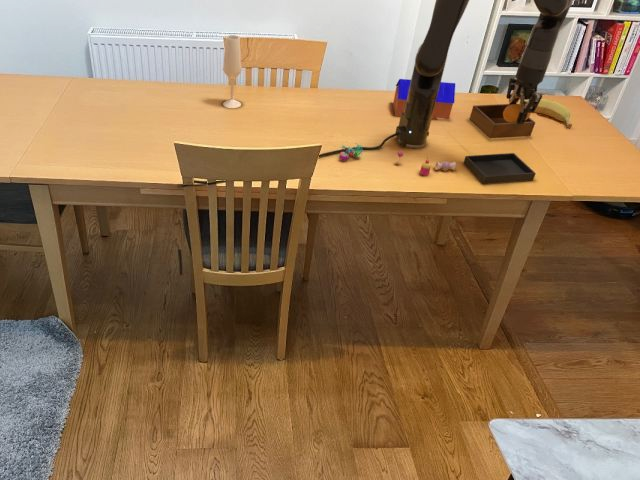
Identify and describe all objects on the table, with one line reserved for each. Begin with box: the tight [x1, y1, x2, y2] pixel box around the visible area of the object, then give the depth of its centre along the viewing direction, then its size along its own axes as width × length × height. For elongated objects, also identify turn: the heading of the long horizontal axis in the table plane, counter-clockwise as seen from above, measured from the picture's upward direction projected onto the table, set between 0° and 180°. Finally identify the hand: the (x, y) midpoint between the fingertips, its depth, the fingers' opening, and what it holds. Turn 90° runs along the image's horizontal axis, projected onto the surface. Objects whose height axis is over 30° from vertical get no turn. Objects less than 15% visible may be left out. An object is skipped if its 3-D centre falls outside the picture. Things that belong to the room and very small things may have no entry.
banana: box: [518, 98, 573, 129], centre depth 217 cm, size 14×6×20 cm
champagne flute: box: [222, 34, 243, 109], centre depth 209 cm, size 7×7×24 cm
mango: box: [503, 103, 532, 122], centre depth 176 cm, size 8×5×5 cm, turn 101°
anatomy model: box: [339, 142, 364, 161], centre depth 188 cm, size 5×8×7 cm
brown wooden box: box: [469, 103, 536, 139], centre depth 208 cm, size 16×16×6 cm
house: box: [392, 78, 456, 120], centre depth 215 cm, size 12×20×12 cm, turn 84°
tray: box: [463, 152, 536, 185], centre depth 185 cm, size 17×13×3 cm
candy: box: [397, 150, 457, 176], centre depth 183 cm, size 18×8×6 cm, turn 91°
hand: (514, 119), depth 177 cm, fingers closed on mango, 5 cm apart
